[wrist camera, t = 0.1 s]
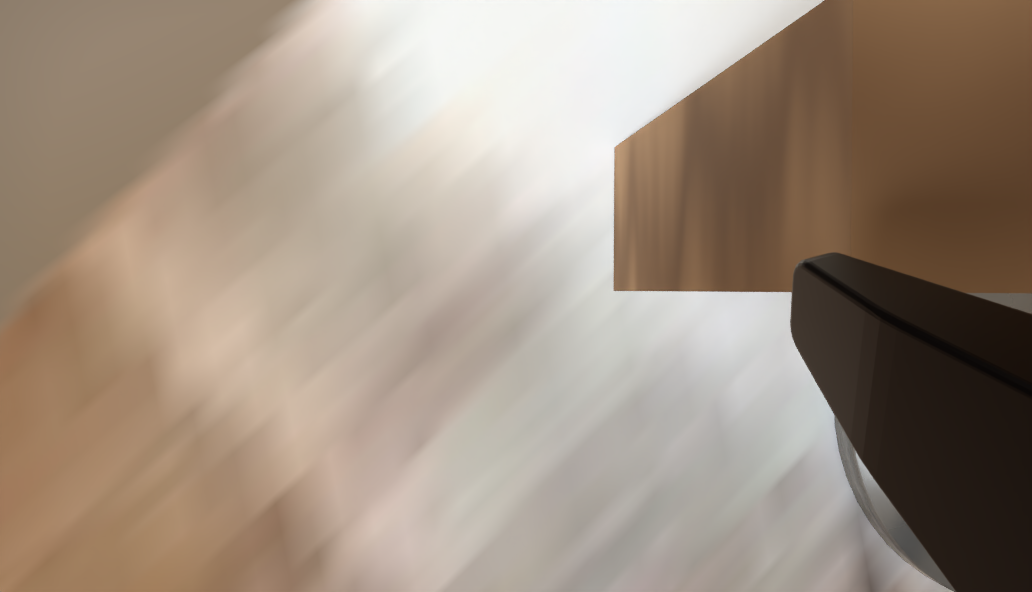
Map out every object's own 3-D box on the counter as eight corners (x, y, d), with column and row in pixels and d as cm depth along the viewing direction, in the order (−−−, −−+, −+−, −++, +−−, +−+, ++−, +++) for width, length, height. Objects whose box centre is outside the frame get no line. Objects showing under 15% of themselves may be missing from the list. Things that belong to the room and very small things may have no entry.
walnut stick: (751, 291, 24) (1131, 293, 12) (613, 290, 24) (850, 292, 11) (752, 151, 24) (1135, -5, 11) (614, 147, 24) (853, -20, 11)
